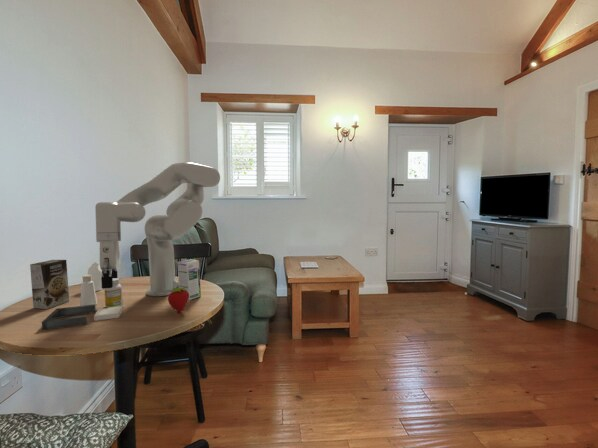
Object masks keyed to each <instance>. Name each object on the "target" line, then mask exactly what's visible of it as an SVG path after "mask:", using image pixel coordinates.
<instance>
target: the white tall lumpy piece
mask: <svg viewBox="0 0 598 448" xmlns="http://www.w3.org/2000/svg"><path fill="white" fill-rule="evenodd" d="M87 275H91V281H93V283H94V288H95V292H98V291H99V292H100V291H103V290H104V289H102V280H101V277H102V270H101V269H100V263H99V262H98V261H95V262H93V263H92V264H91V265H90V267H88V269H87Z"/></svg>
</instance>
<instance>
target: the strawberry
mask: <svg viewBox="0 0 598 448" xmlns="http://www.w3.org/2000/svg"><path fill="white" fill-rule="evenodd" d="M173 289H175V290H173V291H174V292H173V291H170V292H172V293H170V294H169V295H167V296H168V298H167V301H168V304H169V305H170V306H171V308H172V309H173V310H175V312H177V313H178V314H180V313H182V312H183V311H184V309H185V307H186V306H187V303H188V302H189V300H188V299H189V293H188V292H187V291H186V290H185V289H184V288H173Z"/></svg>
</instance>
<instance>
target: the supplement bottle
mask: <svg viewBox="0 0 598 448" xmlns="http://www.w3.org/2000/svg"><path fill="white" fill-rule="evenodd" d="M112 279H113V287H112V288H105V289H104V300H105V302H104V303H105V308H111V307H119V306H123V303H124V300H123V287H122V284H120V279H119V278H112Z"/></svg>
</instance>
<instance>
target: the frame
mask: <svg viewBox="0 0 598 448" xmlns="http://www.w3.org/2000/svg"><path fill="white" fill-rule="evenodd" d="M96 306H97V304H96V305H95V304H92V305H84V306H80V305H79V306H78V305H77V306H70V307H69V306H68V307H67V306H66V307H59V308H56V309H54V311H52V312H51V313H50V314H49V315H48V316H46V317H45V318H44V319H43V320H42V321H41V329H42V331H47V330H54V329H63V328H71V327H77V326H79V327H80V326H85V325H88V314H94V313H96V312H97V309H96V308H97V307H96ZM86 314H87V315H86ZM76 315H79V316H76ZM68 316H70V317H68ZM61 317H62V318H61ZM63 317H64V318H63Z"/></svg>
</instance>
